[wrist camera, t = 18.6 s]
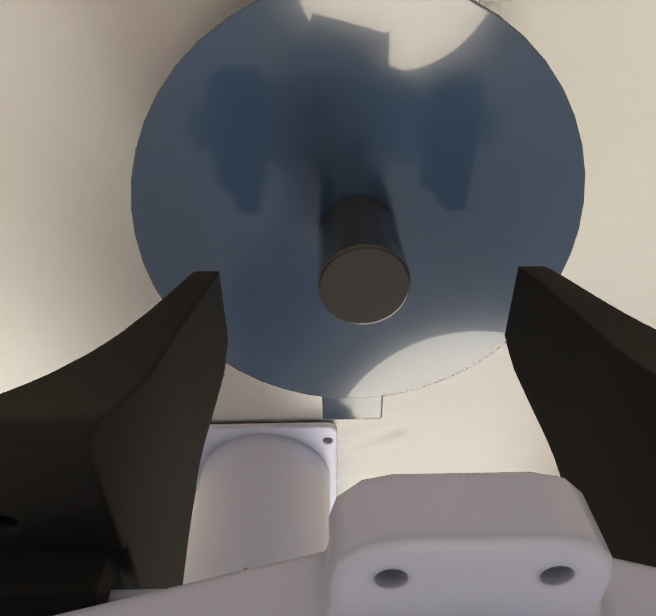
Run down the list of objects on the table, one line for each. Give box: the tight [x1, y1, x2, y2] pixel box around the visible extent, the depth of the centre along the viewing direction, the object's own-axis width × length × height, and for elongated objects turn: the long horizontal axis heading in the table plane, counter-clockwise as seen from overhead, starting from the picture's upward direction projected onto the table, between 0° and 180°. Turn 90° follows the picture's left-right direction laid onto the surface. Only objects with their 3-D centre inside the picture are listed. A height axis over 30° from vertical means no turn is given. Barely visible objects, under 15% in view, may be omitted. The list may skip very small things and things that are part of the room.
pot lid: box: [131, 0, 585, 398], centre depth 16 cm, size 13×13×4 cm
